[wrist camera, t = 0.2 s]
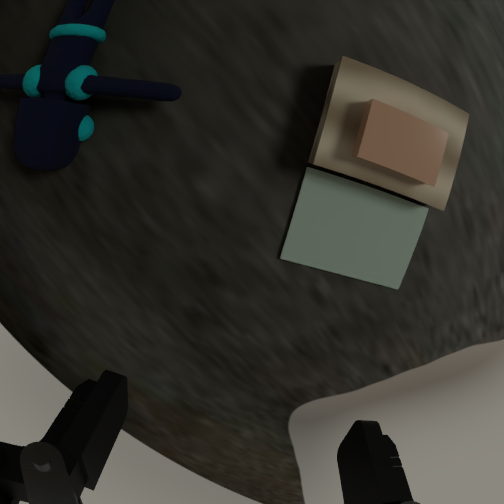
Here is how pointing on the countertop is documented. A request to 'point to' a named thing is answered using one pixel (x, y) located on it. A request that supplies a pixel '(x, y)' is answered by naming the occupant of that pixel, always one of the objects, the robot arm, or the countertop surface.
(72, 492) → the robot arm
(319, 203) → the mat
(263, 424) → the countertop surface
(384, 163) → the tile
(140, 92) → the toy
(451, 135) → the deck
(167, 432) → the countertop surface
